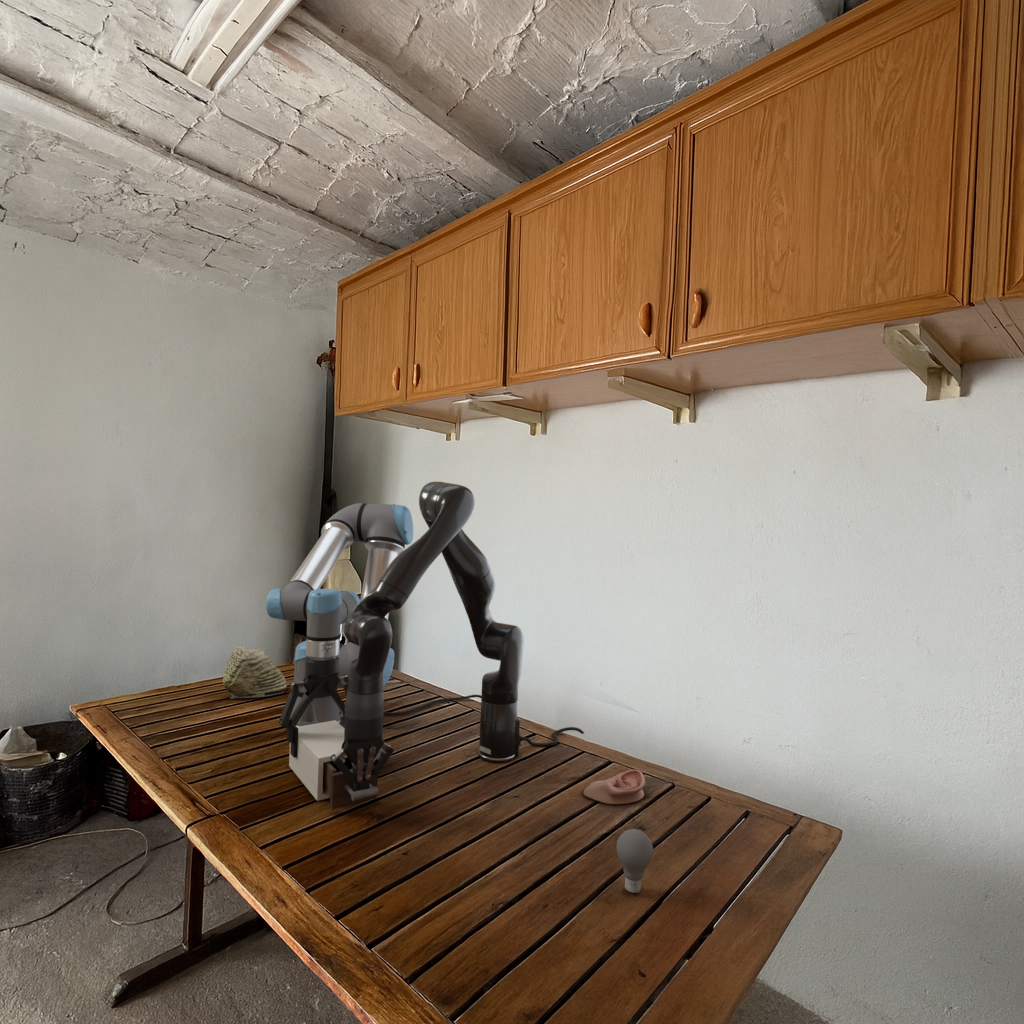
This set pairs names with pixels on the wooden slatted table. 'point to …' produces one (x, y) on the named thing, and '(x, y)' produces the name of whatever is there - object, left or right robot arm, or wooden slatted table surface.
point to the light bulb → (634, 857)
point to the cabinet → (316, 754)
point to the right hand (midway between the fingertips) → (360, 797)
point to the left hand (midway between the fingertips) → (318, 750)
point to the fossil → (252, 674)
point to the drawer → (345, 786)
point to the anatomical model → (618, 788)
